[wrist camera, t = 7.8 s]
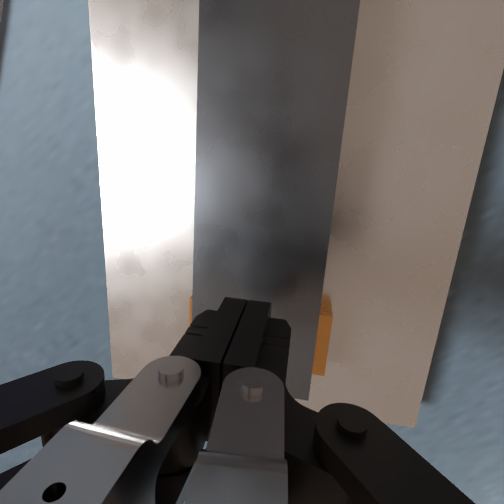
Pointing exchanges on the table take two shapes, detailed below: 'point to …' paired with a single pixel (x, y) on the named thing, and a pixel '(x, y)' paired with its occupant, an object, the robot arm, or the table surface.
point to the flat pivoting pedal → (270, 158)
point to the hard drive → (0, 7)
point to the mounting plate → (346, 196)
